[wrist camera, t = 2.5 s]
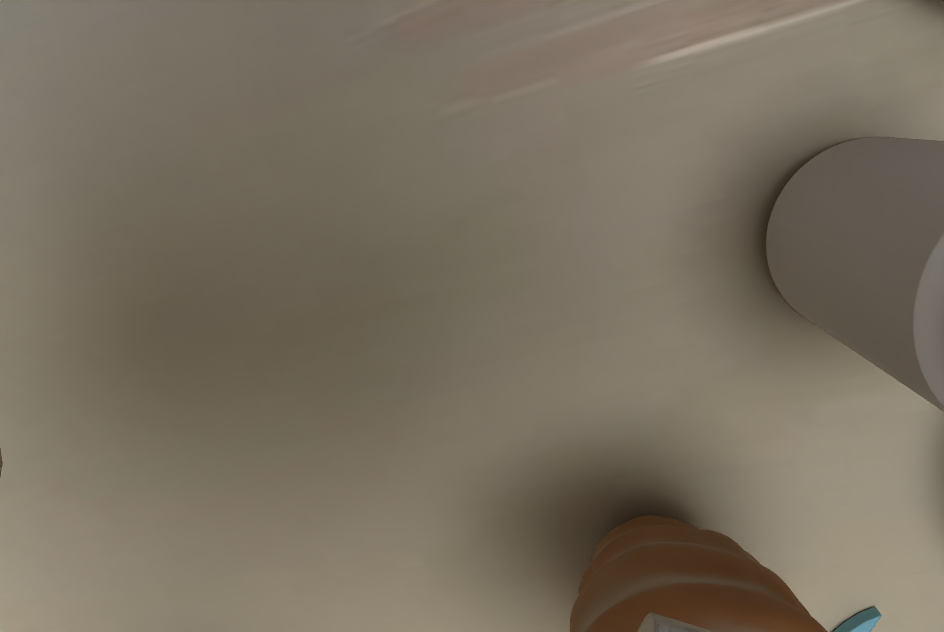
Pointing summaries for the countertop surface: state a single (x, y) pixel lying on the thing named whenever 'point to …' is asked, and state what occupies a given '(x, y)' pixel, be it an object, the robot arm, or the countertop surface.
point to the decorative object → (861, 621)
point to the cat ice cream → (682, 583)
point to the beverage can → (869, 253)
